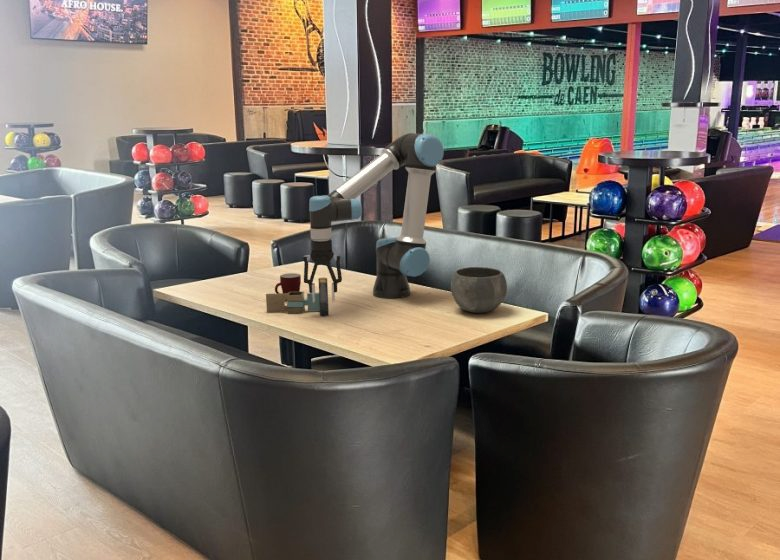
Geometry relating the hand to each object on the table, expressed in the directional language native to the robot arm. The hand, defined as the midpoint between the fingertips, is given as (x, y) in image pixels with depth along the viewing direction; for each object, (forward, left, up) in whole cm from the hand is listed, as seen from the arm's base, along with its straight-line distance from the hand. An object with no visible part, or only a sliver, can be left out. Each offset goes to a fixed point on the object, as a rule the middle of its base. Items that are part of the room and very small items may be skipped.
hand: (323, 301), depth 284 cm
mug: (+16, -23, -6) cm, 29 cm away
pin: (0, 0, -5) cm, 5 cm away
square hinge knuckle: (+15, -6, -5) cm, 17 cm away
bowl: (-57, -2, -6) cm, 57 cm away
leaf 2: (+7, -6, -5) cm, 11 cm away
